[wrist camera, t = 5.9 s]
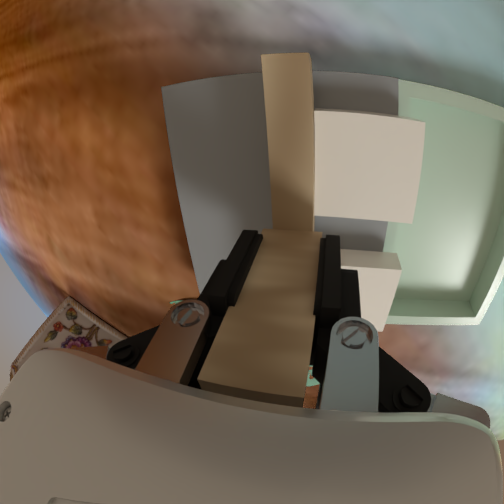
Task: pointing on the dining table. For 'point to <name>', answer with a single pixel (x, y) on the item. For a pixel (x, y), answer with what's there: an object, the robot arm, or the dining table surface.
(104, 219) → the dining table surface
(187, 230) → the board
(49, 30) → the dining table surface
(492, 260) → the tray
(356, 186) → the tile
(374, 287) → the tile
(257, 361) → the tan bar
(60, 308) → the decorative jar
